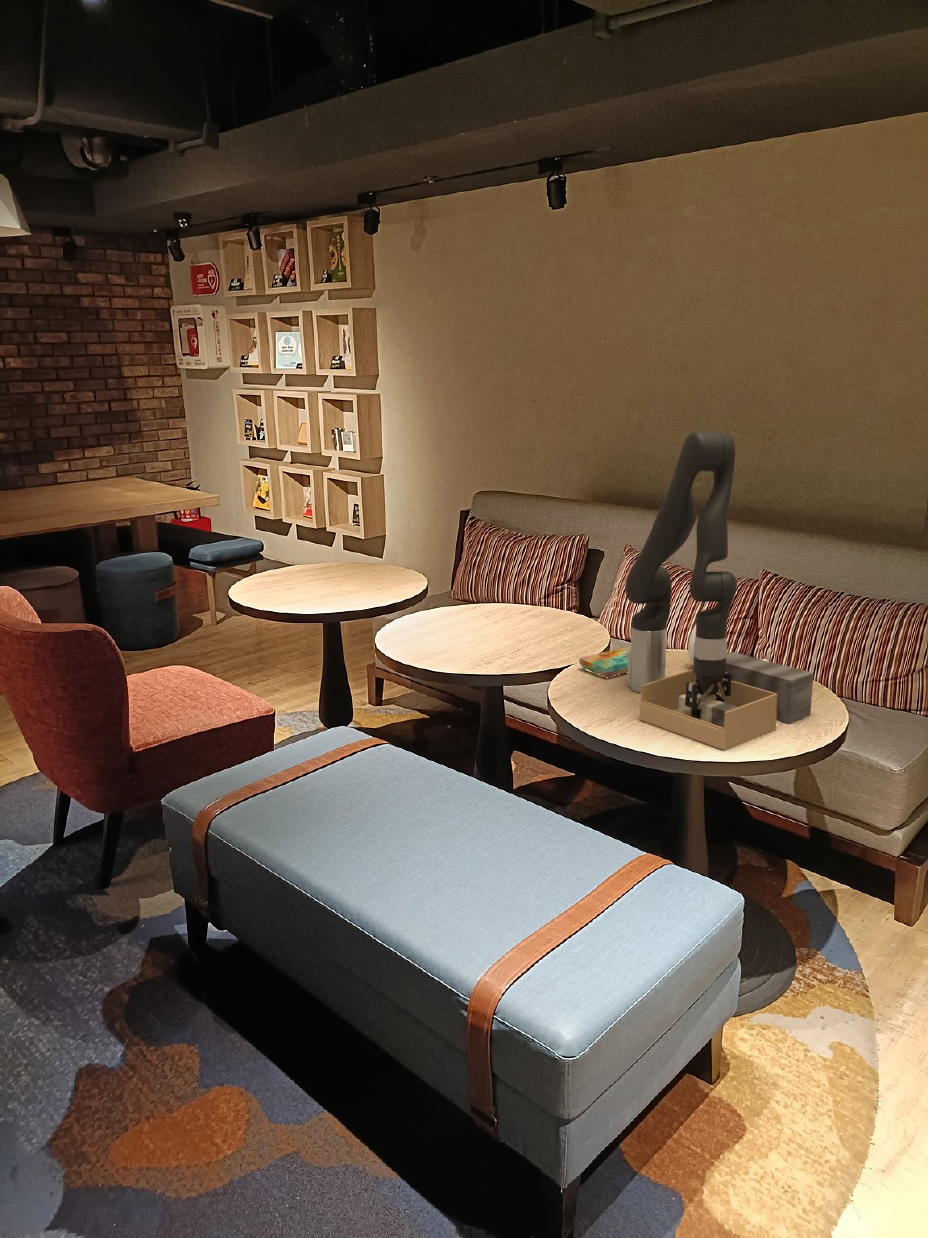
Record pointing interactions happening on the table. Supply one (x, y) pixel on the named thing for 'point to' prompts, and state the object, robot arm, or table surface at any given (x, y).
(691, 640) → the sauce bottle
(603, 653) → the puzzle game
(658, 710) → the carton
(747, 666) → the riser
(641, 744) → the table surface
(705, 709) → the block
